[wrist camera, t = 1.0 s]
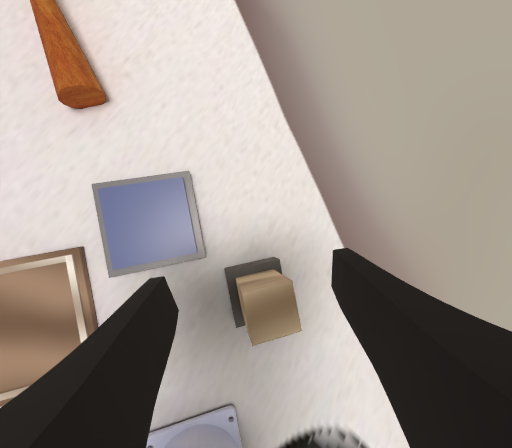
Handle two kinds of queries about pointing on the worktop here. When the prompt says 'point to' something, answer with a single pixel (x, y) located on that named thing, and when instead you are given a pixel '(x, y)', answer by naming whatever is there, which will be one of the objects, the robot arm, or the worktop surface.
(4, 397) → the board
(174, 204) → the ink pad
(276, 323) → the stamp
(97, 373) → the robot arm
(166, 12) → the worktop surface
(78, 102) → the purple maraca
